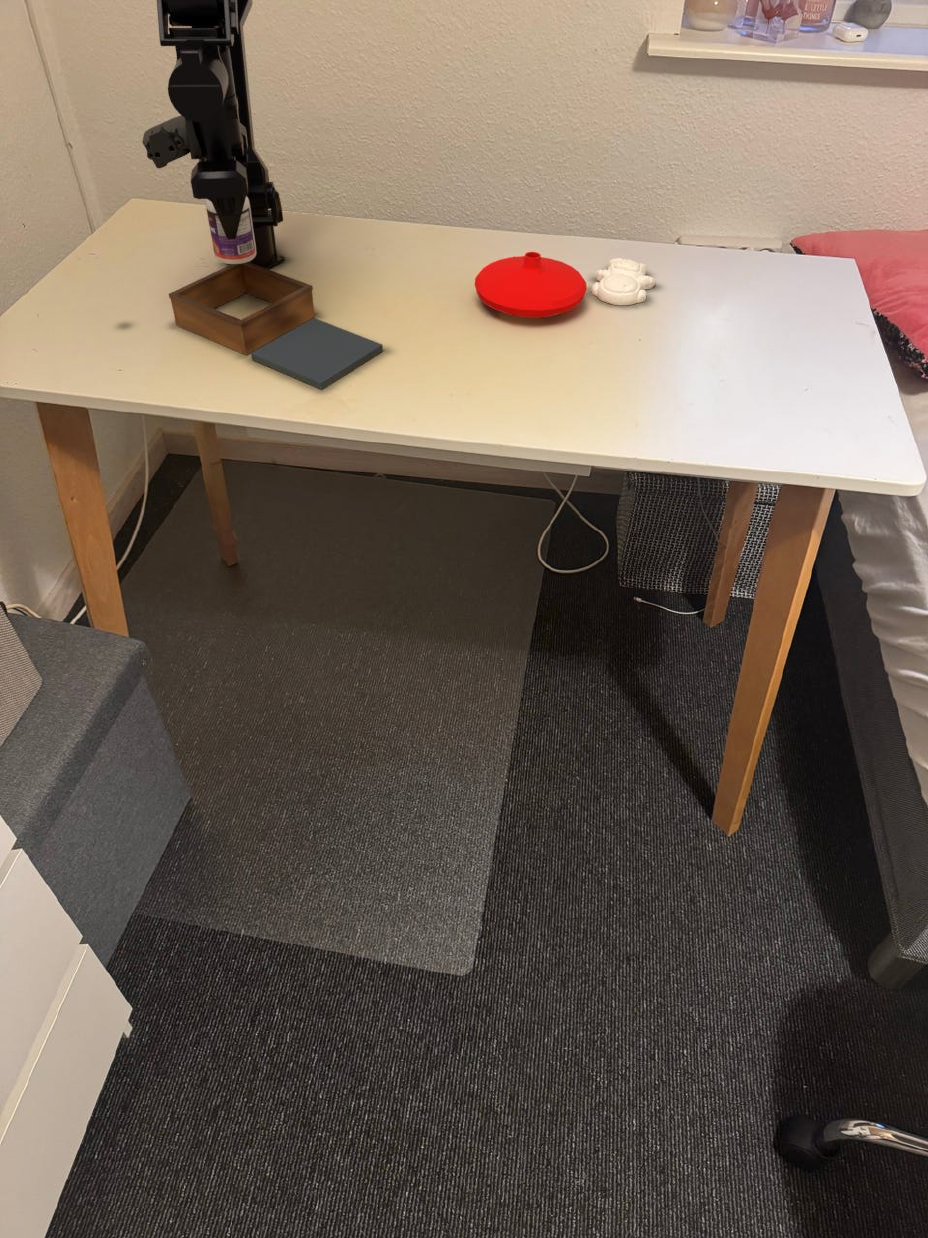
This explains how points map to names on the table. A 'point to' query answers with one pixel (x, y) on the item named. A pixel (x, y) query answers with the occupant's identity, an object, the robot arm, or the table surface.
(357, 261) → the table surface
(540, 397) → the table surface
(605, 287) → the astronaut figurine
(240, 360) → the table surface
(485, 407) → the table surface
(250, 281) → the wooden square frame
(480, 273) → the flat cone with hole
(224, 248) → the pill bottle
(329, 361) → the mat
